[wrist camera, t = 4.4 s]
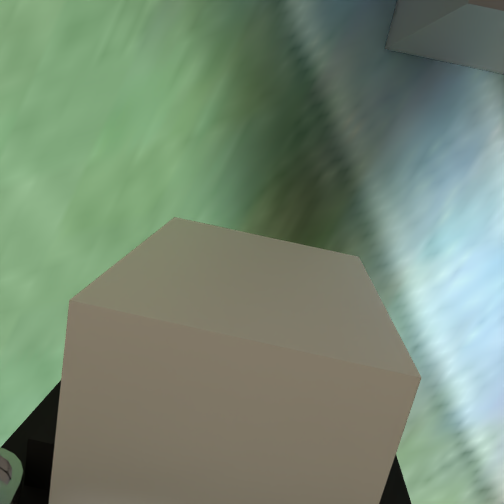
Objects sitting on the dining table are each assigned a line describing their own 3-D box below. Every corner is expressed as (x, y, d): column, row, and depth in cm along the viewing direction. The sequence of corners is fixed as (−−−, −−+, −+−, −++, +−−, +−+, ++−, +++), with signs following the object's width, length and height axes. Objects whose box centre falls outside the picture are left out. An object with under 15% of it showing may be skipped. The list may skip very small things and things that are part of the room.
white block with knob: (358, 256, 10) (434, 403, 5) (278, 550, 12) (268, 877, 7) (174, 216, 10) (47, 317, 5) (127, 515, 12) (2, 811, 7)
